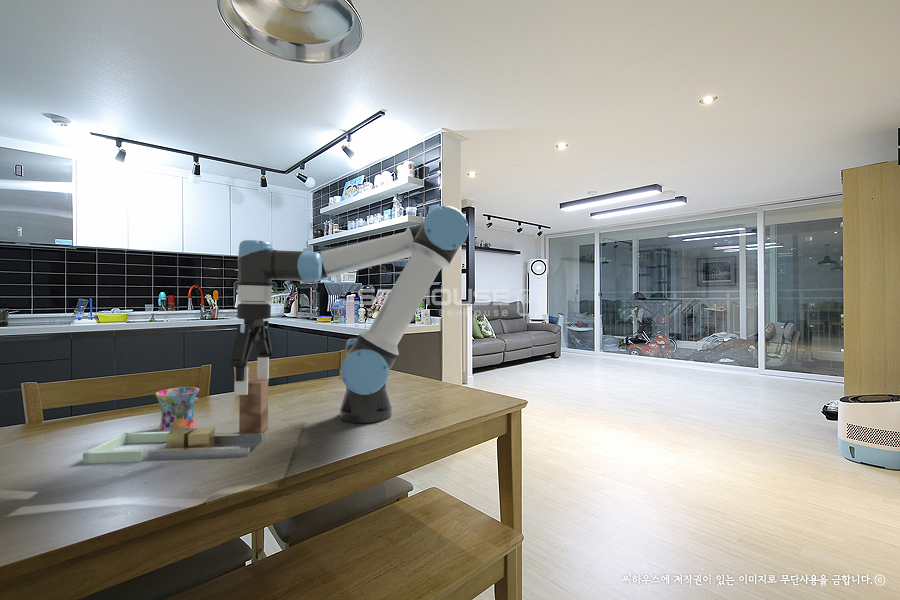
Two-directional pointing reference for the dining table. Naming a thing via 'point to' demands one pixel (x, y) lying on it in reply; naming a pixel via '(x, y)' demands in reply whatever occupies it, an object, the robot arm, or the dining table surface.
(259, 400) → the block
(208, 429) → the tan boxy piece
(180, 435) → the chip
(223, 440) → the slot rail
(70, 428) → the dining table surface
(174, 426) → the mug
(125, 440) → the tray
